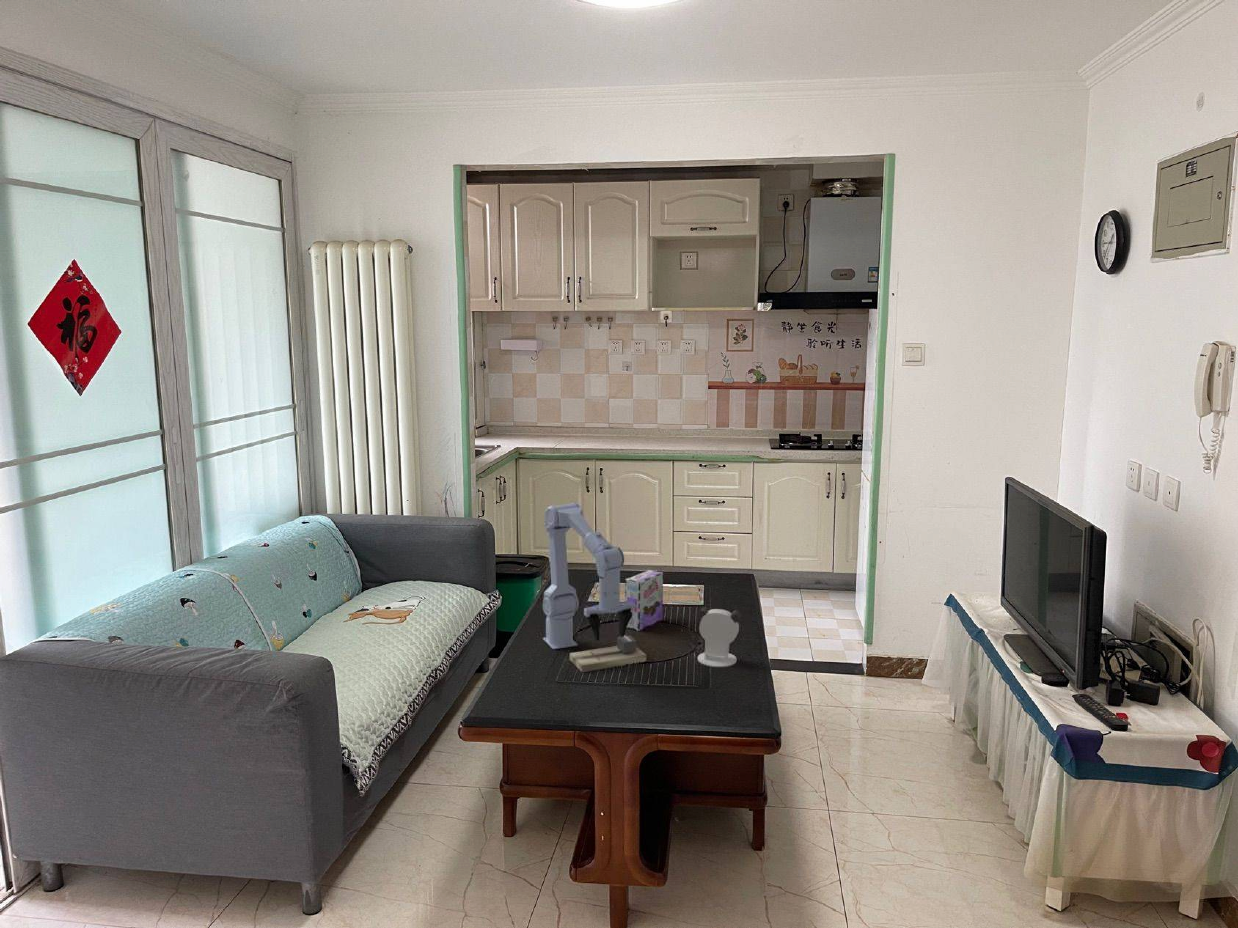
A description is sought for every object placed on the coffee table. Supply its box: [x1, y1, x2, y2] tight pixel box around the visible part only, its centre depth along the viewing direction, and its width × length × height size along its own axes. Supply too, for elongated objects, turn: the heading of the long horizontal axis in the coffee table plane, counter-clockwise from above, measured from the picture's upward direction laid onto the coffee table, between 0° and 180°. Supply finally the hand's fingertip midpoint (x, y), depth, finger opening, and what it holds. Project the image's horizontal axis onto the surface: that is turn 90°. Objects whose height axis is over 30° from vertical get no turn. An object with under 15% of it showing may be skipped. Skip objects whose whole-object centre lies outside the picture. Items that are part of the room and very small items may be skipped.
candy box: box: [624, 569, 664, 632], centre depth 286 cm, size 14×6×16 cm, turn 143°
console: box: [569, 645, 647, 673], centre depth 256 cm, size 10×20×2 cm, turn 114°
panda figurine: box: [697, 606, 742, 668], centre depth 256 cm, size 12×11×15 cm
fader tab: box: [616, 634, 637, 653], centre depth 258 cm, size 5×4×4 cm
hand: (609, 637), depth 247 cm, fingers open, 7 cm apart
